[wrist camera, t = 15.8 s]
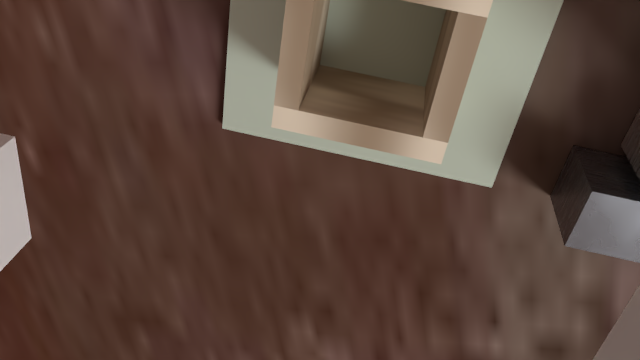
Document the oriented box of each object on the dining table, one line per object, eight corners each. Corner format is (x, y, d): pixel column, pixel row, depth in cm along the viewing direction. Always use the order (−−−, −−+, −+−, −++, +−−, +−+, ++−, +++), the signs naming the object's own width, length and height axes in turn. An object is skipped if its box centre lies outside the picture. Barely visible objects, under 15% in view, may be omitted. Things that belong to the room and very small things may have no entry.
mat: (224, 124, 30) (222, 128, 30) (245, -191, 22) (242, -191, 22) (491, 183, 29) (491, 187, 29) (608, -124, 22) (610, -123, 21)
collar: (296, 79, 28) (271, 127, 24) (317, -76, 24) (292, -53, 20) (440, 110, 27) (441, 164, 23) (486, -43, 23) (497, -12, 19)
